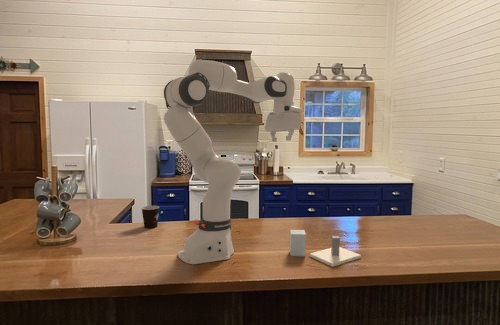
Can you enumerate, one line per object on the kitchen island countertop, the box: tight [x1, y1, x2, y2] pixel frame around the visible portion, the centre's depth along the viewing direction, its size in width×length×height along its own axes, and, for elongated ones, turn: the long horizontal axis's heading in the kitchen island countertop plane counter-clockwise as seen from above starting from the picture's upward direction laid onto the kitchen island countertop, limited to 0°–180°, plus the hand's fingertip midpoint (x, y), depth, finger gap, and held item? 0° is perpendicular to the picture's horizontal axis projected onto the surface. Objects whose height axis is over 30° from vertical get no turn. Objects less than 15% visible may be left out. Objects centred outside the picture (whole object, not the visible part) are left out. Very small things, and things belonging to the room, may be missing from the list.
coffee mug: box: [141, 205, 160, 230], centre depth 175 cm, size 12×9×10 cm
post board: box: [309, 235, 362, 267], centre depth 134 cm, size 16×12×8 cm
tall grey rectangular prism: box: [289, 229, 307, 257], centre depth 138 cm, size 6×6×9 cm
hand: (281, 141), depth 151 cm, fingers open, 8 cm apart
